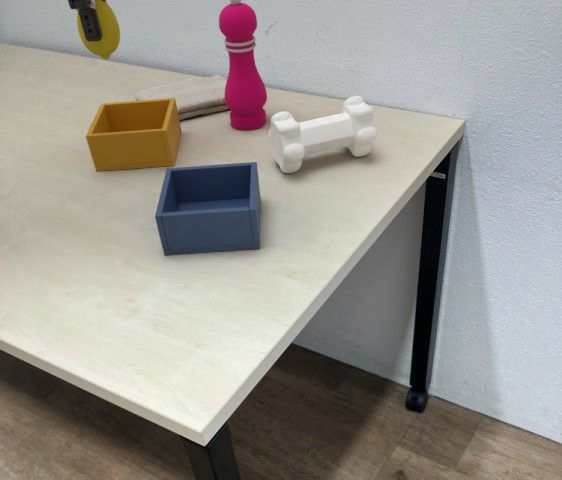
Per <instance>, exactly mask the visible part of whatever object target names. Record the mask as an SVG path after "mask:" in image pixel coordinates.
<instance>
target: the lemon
mask: <svg viewBox="0 0 562 480" xmlns="http://www.w3.org/2000/svg"><path fill="white" fill-rule="evenodd" d="M94 2H95V8H96V12H97V15H98V19H99V23H100V27H101V31H102V35H103V37H102V39H101V40H100V41H92V42H89V41H87V40H86V38H85V35H84V31H83V27H82V24H81V20H80V16H79V13H78V11H77V12H76V26H77V31H78V35H79V39H80V40H81V42H82V44H83V45H84V47H85V48H86V49H87V50H88V51H89V52H91V53H92V54H94V55H95V56H98V57H101V59H103V60H104V61H106V60H107V61H108V60H109V59H110V58H111V55H112V54H113V53H114V52H115V51H116V50H117V49H118V47H119V44H120V41H121V31H120V26H119V22H118V19H117V16H116V15H115V12H114V11H113V9H112V7H111V6H110V5H109V4H108V3H105V2H104V1H102V0H94Z"/></svg>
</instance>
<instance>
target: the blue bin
mask: <svg viewBox="0 0 562 480" xmlns="http://www.w3.org/2000/svg"><path fill="white" fill-rule="evenodd" d="M258 169H259V168H258V162H257V161H251V162H250V161H249V162H248V161H247V162H236V163H221V164H210V165H208V164H206V165H195V166H194V165H193V166H180V167H179V166H177V167H170V168H169V167H167V168H166V170H165V173H164V177H163V182H162V185H161V190H160V194H159V198H158V202H157V206H156V211H155V215H154V220H155V222H156V227H157V231H158V235H159V240H160V243H161V248H162V253H163V255H164V256H172V255H188V254H203V253H205V254H206V253H219V252H234V251H248V250H249V251H251V250H260V249H261V207H262V206H261V198H262V197H261V190H260V179H259V171H258Z"/></svg>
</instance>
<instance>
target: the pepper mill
mask: <svg viewBox="0 0 562 480" xmlns="http://www.w3.org/2000/svg"><path fill="white" fill-rule="evenodd" d="M229 2H230V3H229V4H227V5H225V6H224V7H223V8H222V9H221V10H220V13H219V16H218V26H219V30H220V32H221V34H222V35H223V36H224V37H225V38H224V39H223V42H224V45H225V46H224V49H225V51H227V54H228V59H229V68H228V75H227V82H226V86H225V103H226V105H227V106H228V107H229V109H228V110H230V113H229V120H230V126H231V127H232V128H234V129H237V130H240V131H241V130H242V131H249V130H256V129H258V128H261V127H263V126H264V125H265V124H266V122H267V114H266V110H265V108H264V106H265V105H266V103H267V100H268V94H267V88H266V86H265V83H264V81H263V79H262V77H261V75H260V72H259V71H258V67H257V64H256V60H255V48H256V47H257V43H256V37H255V36H254V34H255V32H256V30H257V28H258V19H257V15H256V13H255V10H254V9H253V8H252V7H251V6H250V5H249V4H247V3H245V2H242V0H229Z"/></svg>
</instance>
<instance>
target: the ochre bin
mask: <svg viewBox="0 0 562 480" xmlns="http://www.w3.org/2000/svg"><path fill="white" fill-rule="evenodd" d="M180 121H181V120H179V116H178V111H177V105H176V100H175V98H171V99H170V98H166V99H153V100H140V101H136V100H130V101H116V102H115V101H114V102H103V103H100V105H99V107H98V109H97V111H96V113H95V116H94V118H93V119H92V122H91V124H90V126H89V128H88V131H87V132H86V134H85V139H86V142H87V145H88V150H89V153H90V155H91V158H92V162H93V165H94V169H95V171H96V172H103V171H104V172H107V171H120V170H121V171H122V170H133V169H148V168H160V167H162V168H163V167H173V166H175V162H176V157H177V154H178V148H179V144H180V139H181V135H182V127H181V122H180Z"/></svg>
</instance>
